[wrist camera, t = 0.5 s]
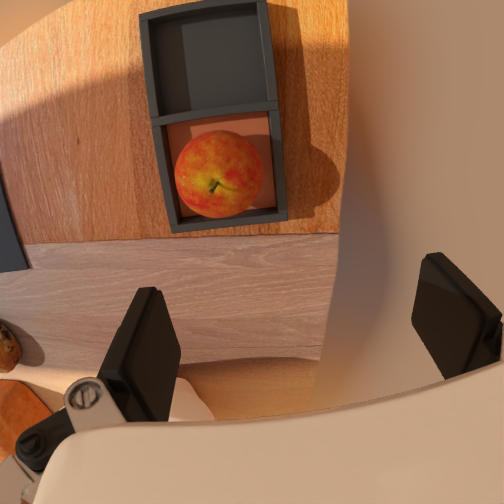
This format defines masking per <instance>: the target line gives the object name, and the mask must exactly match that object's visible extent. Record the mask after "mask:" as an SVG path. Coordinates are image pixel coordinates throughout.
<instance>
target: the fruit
mask: <svg viewBox="0 0 504 504" xmlns="http://www.w3.org/2000/svg"><path fill="white" fill-rule="evenodd" d="M263 178H264V169H263V163H262V160H261V157H260V155H259V153H258V151H257V150H256V148H255V147H254V146H253V144H252V143H251V142H250V141H249V140H247V139H246V138H244V137H243V136H241V135H239V134H237V133H234V132H231V131H226V130H214V131H208V132H205V133H203V134H200V135H198V136H197V137H195V138H194V139H192V140H191V141H190V142H189V143H188V144H187V145H186V146H185V147H184V148H183V150H182V151H181V153H180V155H179V157H178V159H177V163H176V166H175V183H176V187H177V190H178V193H179V195H180V197H181V198H182V200H183V201H184V202H185V204H186V205H187V206H188V207H189V208H191V209H192V210H193V211H195V212H196V213H198V214H200V215H203V216H206V217H210V218H224V217H229V216H233V215H236V214H238V213H241V212H242V211H244V210H245V209H247V208H248V207H249V206H250V205H251V204H252V203H253V202H254V200H255V199H256V198H257V196H258V194H259V192H260V190H261V187H262V183H263Z"/></svg>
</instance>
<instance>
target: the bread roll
mask: <svg viewBox="0 0 504 504" xmlns="http://www.w3.org/2000/svg"><path fill="white" fill-rule="evenodd" d="M20 357H21V349H20V345H19V343H18V341H17V340H16V339H15V337H14V336H13V334H12V333H11V332H10V331H9V330H8V329H7V327H6V326H4V325H3V324H1V323H0V373H9V372H10V371H12V370H13V369H14V368H15V366H16V365H17V363H18V361H19V360H20Z"/></svg>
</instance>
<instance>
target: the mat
mask: <svg viewBox="0 0 504 504" xmlns="http://www.w3.org/2000/svg"><path fill="white" fill-rule="evenodd" d="M27 269H29V265H28V262H27V260H26V257H25V255H24V252H23V249H22V246H21V244H20V241H19V238H18V235H17V232H16V229H15V226H14V223H13V220H12V216H11V213H10V210H9V206H8V203H7V199H6V196H5V192H4V188H3V184H2V180H1V176H0V273H2V272H11V271H19V270H27Z"/></svg>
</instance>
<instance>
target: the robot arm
mask: <svg viewBox="0 0 504 504" xmlns="http://www.w3.org/2000/svg"><path fill="white" fill-rule="evenodd" d="M501 317H502V313H501V312H500V311H499V310H498V309H497V308H496V306H495V305H494V304H493V303H492V302H491V301H490V300H489V299H488V298H487V297H486V296H485V295H484V294H483V293H482V291H481V290H480V289H478V287H477V286H476V285H475V284H474V283H473V282H472V281H471V280H470V279H469V278H468V277H467V276H466V275H465V274H464V273H463V272H462V271H461V270H460V269H458V267H457V266H455V265H454V264H453V263H452V262H451V261H450V260H449V259H448V258H447V257H446V256H445V255H444V254H443V253H441V252H437V253H430V254H427V255H426V256H425V258H424V259H422V262H421V268H420V275H419V280H418V286H417V292H416V297H415V302H414V307H413V312H412V317H411V321H412V325H413V327H414V328H415V330H416V332H417V333H418V335H419V336H420V338H421V340H422V342H423V343H424V345H425V346H426V348H427V350H428V351H429V353H430V355H431V356H432V358H433V360H434V362H435V363H436V365H437V367H438V369H439V370H440V372H441V374H442V376H443V377H444V379H445V380H444V381H440V382H438V383H434V384H431V385H427V386H424V387H420V388H417V389H413V390H410V391H406V392H402V393H398V394H394V395H390V396H386V397H382V398H378V399H374V400H369V401H364V402H360V403H355V404H350V405H345V406H340V407H334V408H328V409H322V410H316V411H309V412H302V413H294V414H287V415H278V416H269V417H259V418H247V419H232V420H212V421H179V422H168V420H169V415H170V409H171V404H172V398H173V393H174V388H175V383H176V378H177V373H178V368H179V363H180V358H181V349H180V345H179V343H178V340H177V337H176V334H175V331H174V328H173V325H172V322H171V319H170V316H169V313H168V310H167V306H166V303H165V300H164V297H163V294H162V292H161V290H157V289H156V287H144V288H139V289H138V290H137V292H136V294H135V296H134V298H133V301H132V303H131V305H130V307H129V309H128V311H127V313H126V315H125V317H124V319H123V322H122V324H121V326H120V327H119V328H118V330H117V332H116V334H115V336H114V339H113V341H112V343H111V345H110V347H109V350H108V352H107V354H106V356H105V359H104V361H103V363H102V366H101V368H100V370H99V373H98V375H97V377H96V378H95V377H85V378H82V379H79V380H77V381H76V382H74V383H73V384H72V385H71V386H70V387H69V388H68V389H67V391H66V393H65V395H64V405H65V407H64V408H63V409H61V410H59V411H57V412H56V413H54V414H52V415H51V416H49V417H47V418H46V419H44V420H42V421H40V422H39V423H37V424H35V425H33V426H32V427H30V428H28V429H26V430H25V431H24V432H22V433H21V435H20V436H19V437H18V439H17V441H16V444H15V453H16V454H15V455H14V456H12V455H11V454H9V455H8V456H7V457H6V458H5V459H4V460H3V461H2V462H1V463H0V504H504V323H502V322H501V321H500V320H501Z"/></svg>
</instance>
